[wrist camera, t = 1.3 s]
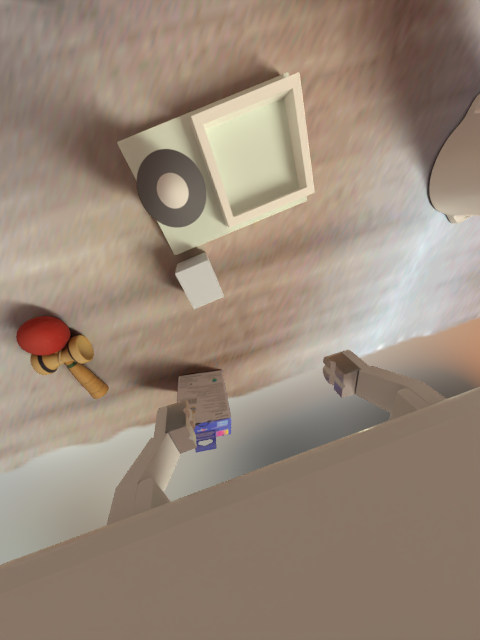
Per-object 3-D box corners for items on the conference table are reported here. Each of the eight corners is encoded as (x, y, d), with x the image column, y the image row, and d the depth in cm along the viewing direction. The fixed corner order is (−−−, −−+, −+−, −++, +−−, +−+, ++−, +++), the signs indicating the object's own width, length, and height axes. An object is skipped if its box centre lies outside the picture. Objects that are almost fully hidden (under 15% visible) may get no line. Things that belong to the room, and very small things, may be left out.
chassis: (283, 78, 26) (297, 58, 22) (302, 201, 33) (315, 200, 29) (120, 145, 25) (109, 135, 22) (175, 253, 33) (173, 259, 29)
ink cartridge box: (180, 393, 47) (176, 460, 34) (176, 375, 44) (171, 441, 32) (223, 386, 49) (234, 448, 36) (222, 369, 46) (234, 428, 34)
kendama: (127, 374, 43) (67, 304, 32) (114, 402, 38) (38, 331, 27) (92, 379, 44) (22, 313, 32) (75, 408, 39) (-15, 341, 27)
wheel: (188, 144, 22) (188, 136, 20) (214, 213, 26) (216, 213, 23) (128, 168, 22) (121, 164, 20) (162, 234, 26) (159, 237, 23)
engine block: (205, 251, 33) (208, 259, 28) (219, 284, 37) (224, 296, 31) (177, 263, 33) (174, 273, 28) (193, 295, 36) (194, 309, 31)
